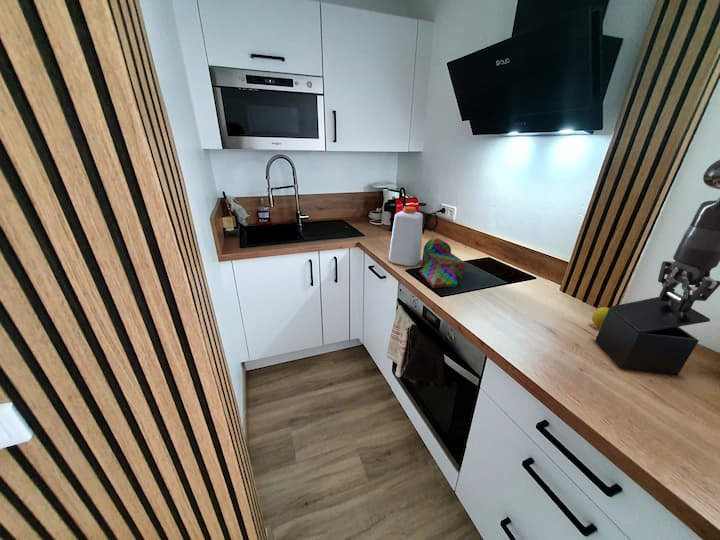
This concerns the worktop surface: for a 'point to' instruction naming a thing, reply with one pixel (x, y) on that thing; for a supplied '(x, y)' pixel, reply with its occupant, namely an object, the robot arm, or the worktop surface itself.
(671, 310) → the bin lid
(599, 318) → the lemon
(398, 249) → the plastic bottle
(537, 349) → the worktop surface
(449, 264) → the rainbow lumpy figurine
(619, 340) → the bin
